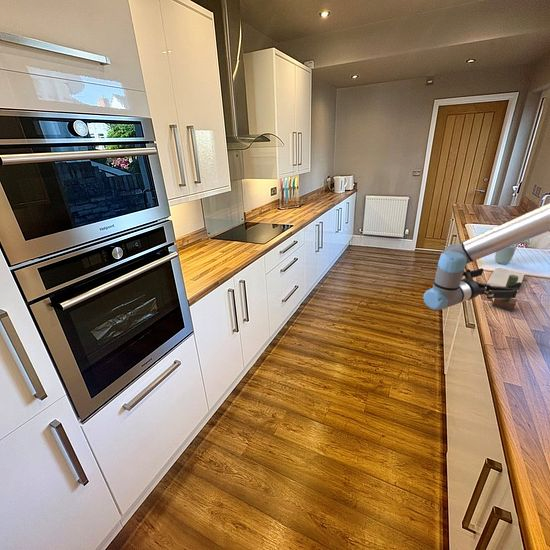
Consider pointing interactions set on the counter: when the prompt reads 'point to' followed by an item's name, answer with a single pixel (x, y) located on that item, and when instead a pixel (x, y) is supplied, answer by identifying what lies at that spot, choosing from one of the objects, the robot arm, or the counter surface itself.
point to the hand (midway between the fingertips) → (499, 278)
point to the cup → (505, 255)
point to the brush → (507, 302)
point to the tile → (503, 277)
